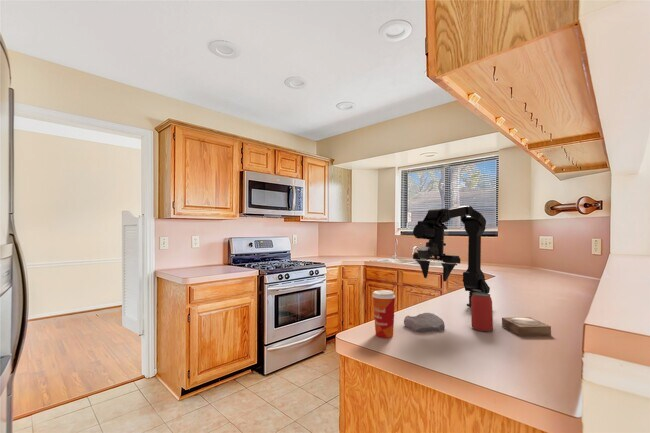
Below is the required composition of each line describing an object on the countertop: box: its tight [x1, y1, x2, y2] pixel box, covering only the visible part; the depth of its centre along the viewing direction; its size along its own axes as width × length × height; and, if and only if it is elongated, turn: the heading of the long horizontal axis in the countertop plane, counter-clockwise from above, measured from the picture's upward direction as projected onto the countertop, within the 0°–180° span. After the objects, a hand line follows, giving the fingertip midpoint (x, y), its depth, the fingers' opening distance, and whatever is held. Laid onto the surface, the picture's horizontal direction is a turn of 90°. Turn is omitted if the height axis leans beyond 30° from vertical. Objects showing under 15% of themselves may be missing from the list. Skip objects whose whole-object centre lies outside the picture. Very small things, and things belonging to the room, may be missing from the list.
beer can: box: [470, 292, 494, 333], centre depth 107 cm, size 7×7×12 cm
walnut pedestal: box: [501, 316, 552, 337], centre depth 104 cm, size 10×10×3 cm
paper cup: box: [371, 289, 396, 339], centre depth 102 cm, size 8×8×14 cm
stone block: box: [403, 312, 446, 333], centre depth 109 cm, size 12×5×10 cm
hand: (434, 279), depth 123 cm, fingers open, 9 cm apart
